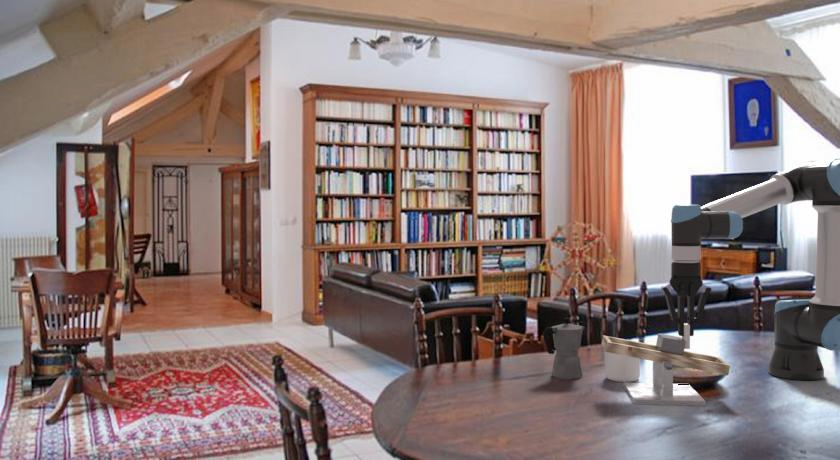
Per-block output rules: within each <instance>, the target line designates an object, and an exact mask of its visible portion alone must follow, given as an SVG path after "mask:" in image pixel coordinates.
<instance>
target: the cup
mask: <svg viewBox="0 0 840 460" xmlns="http://www.w3.org/2000/svg"><path fill="white" fill-rule="evenodd" d="M640 360H641V359H640V358H635V357H630V356H625V355H619V354H614V353H609V352H606V351H605V350H604V376H605V377H606V378H607V379H608V380H609V381H613V382H618V383H635V382H637V381H638V380H639V379H640V374H641V373H640V372H641V371H640V370H641V369H640V368H641V366H640V365H641V361H640Z"/></svg>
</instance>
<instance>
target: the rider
mask: <svg viewBox="0 0 840 460" xmlns="http://www.w3.org/2000/svg"><path fill="white" fill-rule="evenodd" d="M685 343H686V341H685V340H683V339H682V336H675V335H669V334H666V333H661V332H660V333H658V334H657V338H656V343H655V345H656V348H655V351H661V352H666V353H671V354H676V355H682V356H683V354H684V351H685V349H684V348H685Z"/></svg>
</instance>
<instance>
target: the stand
mask: <svg viewBox="0 0 840 460" xmlns="http://www.w3.org/2000/svg"><path fill="white" fill-rule="evenodd" d="M678 384H679V383H674V365H673V361H672V360H662V363H661V362H656V361H652V382H623V388H624V390H625V392H627V394H628V397H629V398H630V399H631V401H632V402H633V404H634V405H656V406H657V405H662V406H694V407H695V406H697V407H698V406H699V407H700V406H701V407H702V406H703V407H706V406H707V405H706V400H705V399H704V397H702V396H701V395H700V394H699V393H698V392H697V391H696V390H695V389H694V388H693V387H692V386H691V385H690V384H689V385H678Z"/></svg>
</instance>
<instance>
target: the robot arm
mask: <svg viewBox="0 0 840 460" xmlns="http://www.w3.org/2000/svg"><path fill="white" fill-rule="evenodd" d="M803 201H805V202H806V201H811V202H812V203H811V206H812V208H813V209H814V210H815V211H816V212H817V229H816V230H817V231H816V233H817V235H816V236H817V237H816V261H815V262H816V263H815V264H816V266H815V288H814V289H815V290H814V292H815V294H814V296H813V297H811V298H810V299H805V298H804V299H785V300H784V299H782V300H781V299H780V300H778V301H777V302H775V305H774V312H773V316H774V321H773V322H774V348H773V350H772V354H771V357H770V359H769V361H768V365H767V373H768V374H770V375H772V376H774V377H778V378H782V379H783V378H784V379H787V380H795V381H797V380H798V381H817V380H822V379H824V378H825V368H824V365H823V364H822V360H821V357H820V355H819V352H818V351H819V350H818V349H819V348H822V349H826V350H828V351H836V352H840V158H834V159H826V160H811V161H807V162H803V163H799V164H798V165H795V166H792V167H790V168H788V169H786V170H783V171H780V172H778V173H775V174H773V175H772V176H771V177H770V178H769V180H767V181H764V182H762V183H759V184H756V185H754V186H750V187H748V188H746V189H743V190H741V191H738V192H735V193H734V194H733V193H732V194H731V195H727V196H726V197H723V198H720V199H717V200H714V201H711V202H709V203H707V204H705V205H702V206H701V205H700V204H675V205H673V207H672V210H671V220H670V222H671V260H672V262H671V265H670V266H671V269H670V270H671V276H670V277H671V278H670V280H669V282H668V284H666V285H665V286H661V288H660V290H661V291H662V293H663V294H664V296H665V301H666V305H667V308H668V313H669V316H670V320H671V321H673V322H674V323H677V333H678V334H677V335H678V336H679V337H681V338H682V339H683V340H685V341H686V343H685V348H684V350H686V349H687V350H690V349H691V347H690V346H691V338H690V337H693V336H694V331H695V330H694V329H695V328H694V326H695V324H696V323H700V322H702V319H703V315H704V314H703V313H704V311H705V307H706V303H707V299H708V296H709V295H710V293H711V292H712V288H711V287H709V286H707V285H706V284H704V282H703V280H702V263H700V261H701V260H702V240H729V239H737V238H738V237H740V236H741V234H742V232H743V230H744V225H743V224H744V220H743V219H744V218H746V217H749V216H751V215H754V214H757V213H759V212H763V211H765V210H767V209H770V208H772V207H774V206H777V205H784V206H785V205H787V206H788V205H789V204H793V203H796V202H803ZM672 290H673V291H674V292H675V293H676V294H677V312H676V307H675V304H674V299H673V296H672ZM699 290H700V295H699V299H698V302H697V306H696V310H695V300H696V299H695V298H696V294H697V292H698V291H699ZM686 298H687V300H686V301H687V302H686V303H687V304H686V305H687V315H686V317H687V322H686V323H685V299H686ZM818 347H819V348H818Z"/></svg>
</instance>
